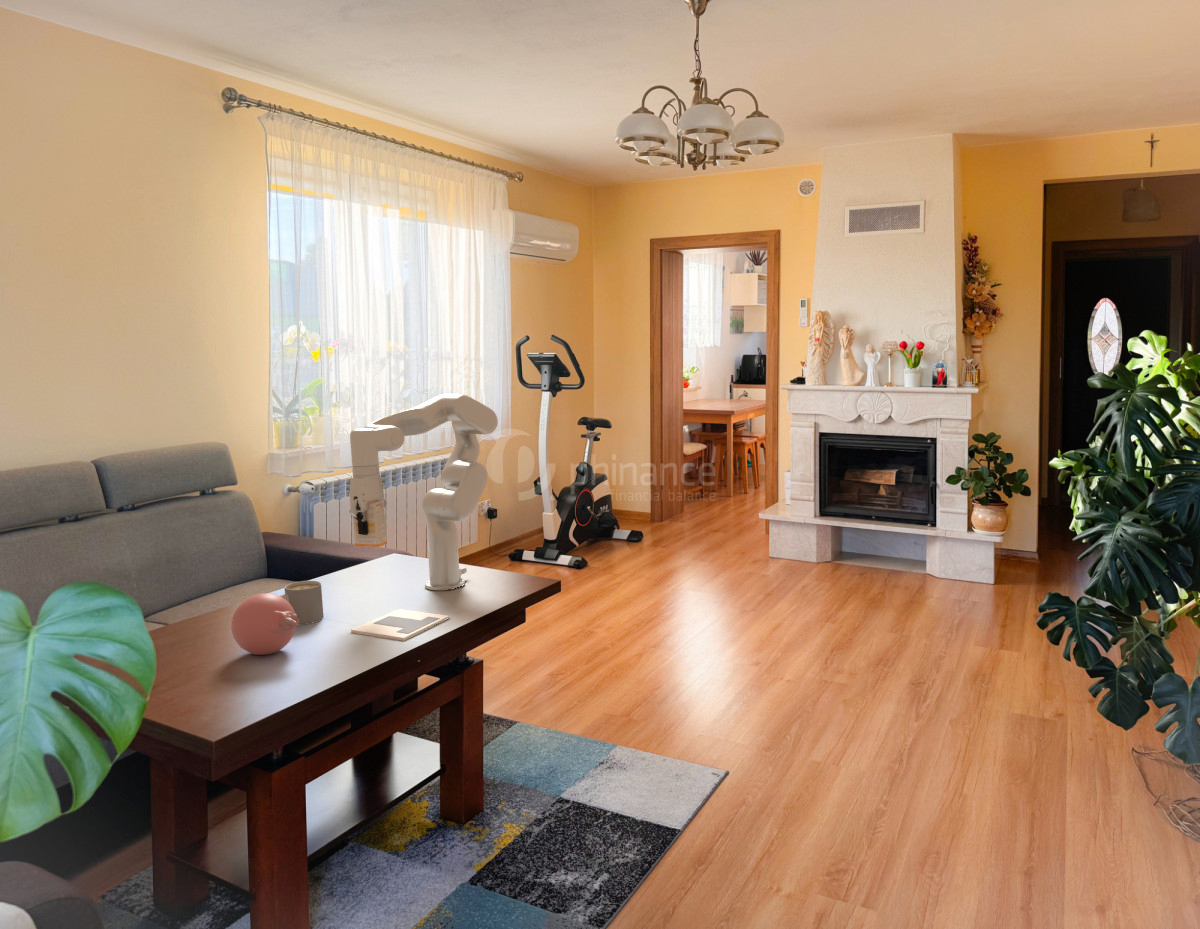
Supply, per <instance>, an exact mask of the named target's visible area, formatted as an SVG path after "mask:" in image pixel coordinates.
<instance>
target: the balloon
mask: <svg viewBox="0 0 1200 929" xmlns="http://www.w3.org/2000/svg"><path fill="white" fill-rule="evenodd" d="M298 624H299V619H297V615H296V614H295V612H294V609H293V608H292V606H291V605H290V603H289V602H288V601H287V600H285V599H284V598H282V597H280V595H278V594H275V593H270V592H269V593H267V592H266V593H263V592H262V593H257V594H254V595H251V596H250V597H248V598H246V599H244V600H243V601H241V603H240V604H239V605H238V606H237V607H236V610H235V611H234V612H233V615H232V619H231V624H230V625H231V634H232V636H233V639H234V641H235V642H236V644H238V646H239V647H240V648H241V649H242V650H244V651H245V652H247V653H251V654H253V655H258V656H259V655H260V656H265V655H270V654H271V655H272V654H275V653H277V652H278V651H281V650H282V649H283V648H285V647H286V646H287V645H288V644H289V643H290V642H291V640H292V639H293V637H294V634H295V632H296V629H297V626H298Z"/></svg>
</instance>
